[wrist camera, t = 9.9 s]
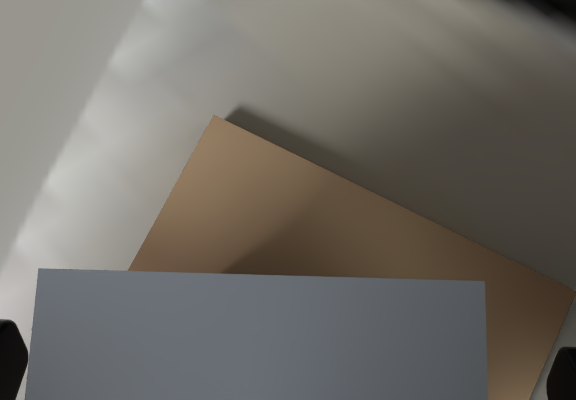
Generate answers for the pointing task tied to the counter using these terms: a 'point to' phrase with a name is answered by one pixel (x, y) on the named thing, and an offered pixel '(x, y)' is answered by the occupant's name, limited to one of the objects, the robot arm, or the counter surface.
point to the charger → (255, 337)
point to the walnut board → (342, 243)
